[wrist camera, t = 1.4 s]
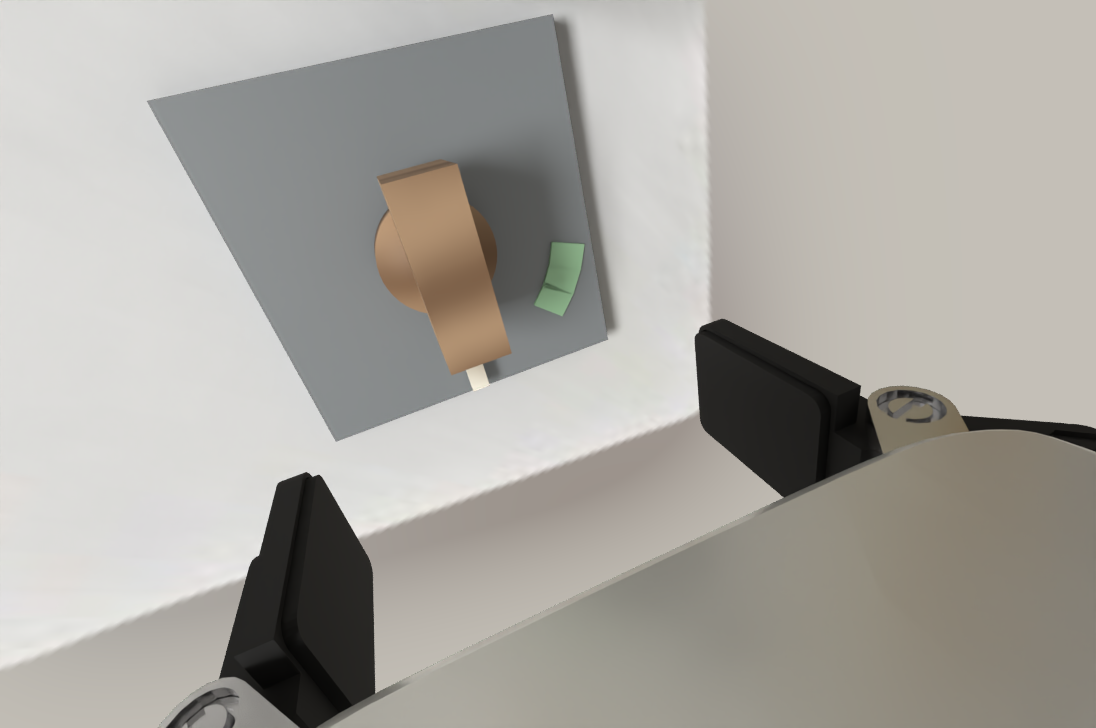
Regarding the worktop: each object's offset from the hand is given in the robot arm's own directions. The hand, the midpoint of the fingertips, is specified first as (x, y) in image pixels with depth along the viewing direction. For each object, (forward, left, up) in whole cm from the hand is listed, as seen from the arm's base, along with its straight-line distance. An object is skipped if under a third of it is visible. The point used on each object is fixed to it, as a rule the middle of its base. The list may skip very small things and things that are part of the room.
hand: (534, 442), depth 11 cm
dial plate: (0, +1, -23) cm, 23 cm away
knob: (+2, +1, -21) cm, 22 cm away
